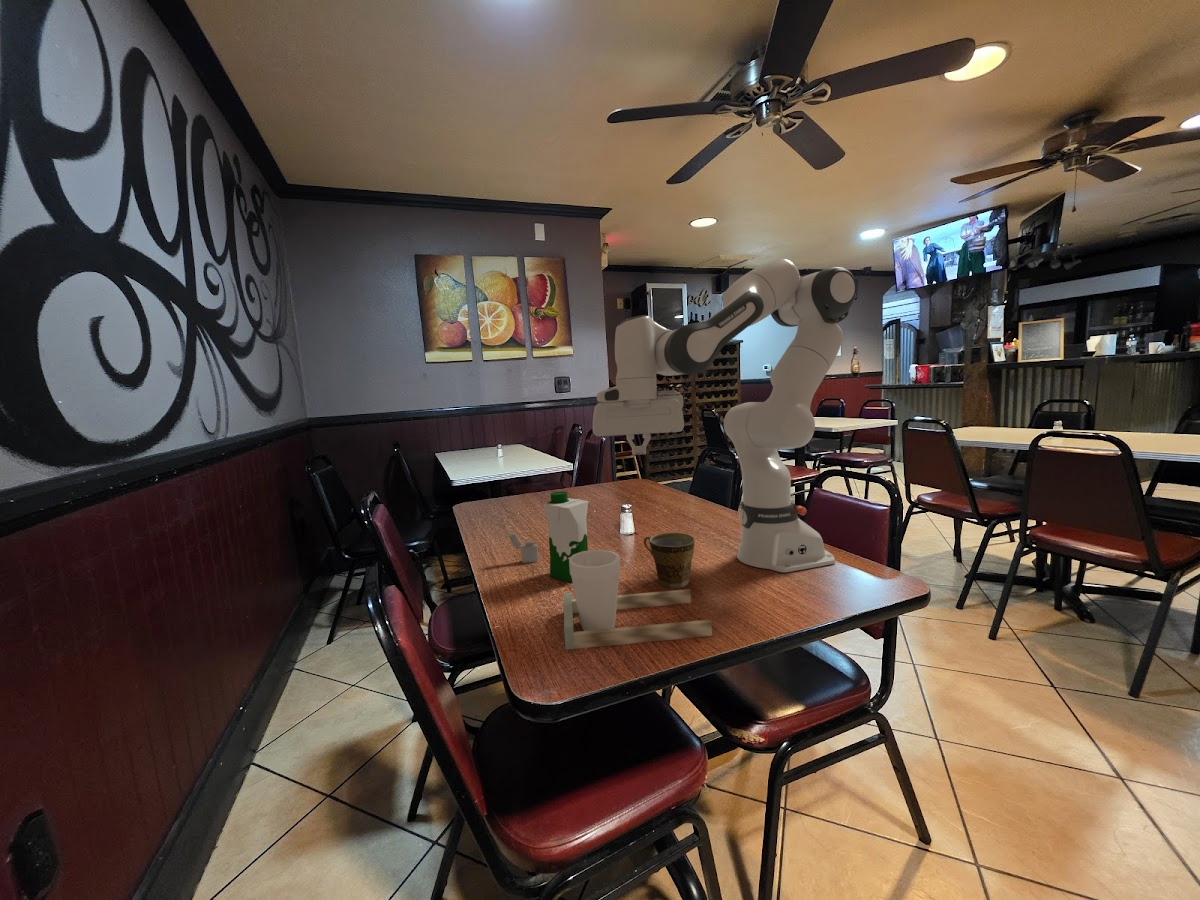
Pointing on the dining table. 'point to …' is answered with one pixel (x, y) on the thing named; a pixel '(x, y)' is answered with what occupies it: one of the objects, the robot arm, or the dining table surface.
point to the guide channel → (648, 631)
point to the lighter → (525, 549)
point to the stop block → (568, 621)
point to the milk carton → (565, 532)
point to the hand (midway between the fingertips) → (639, 454)
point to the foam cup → (596, 587)
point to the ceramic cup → (672, 558)
